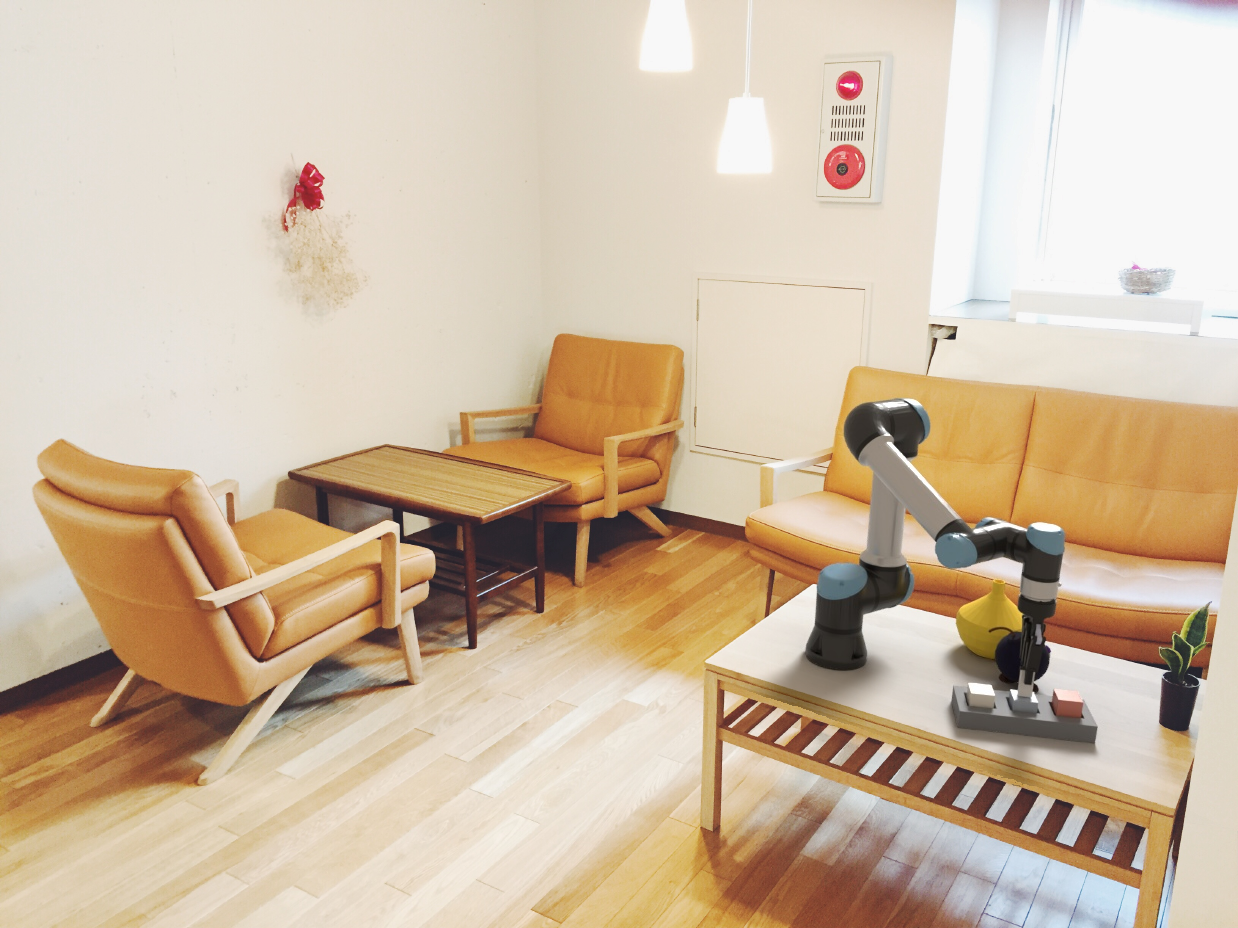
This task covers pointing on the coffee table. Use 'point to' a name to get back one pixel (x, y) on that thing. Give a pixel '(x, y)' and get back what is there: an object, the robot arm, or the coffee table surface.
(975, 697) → the key ivory
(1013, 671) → the toy
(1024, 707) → the key slate
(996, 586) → the vase
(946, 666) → the coffee table surface
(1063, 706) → the key brick
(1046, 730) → the console
